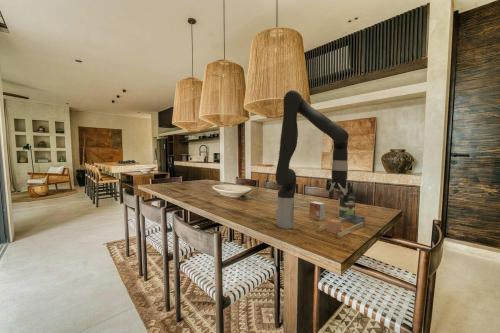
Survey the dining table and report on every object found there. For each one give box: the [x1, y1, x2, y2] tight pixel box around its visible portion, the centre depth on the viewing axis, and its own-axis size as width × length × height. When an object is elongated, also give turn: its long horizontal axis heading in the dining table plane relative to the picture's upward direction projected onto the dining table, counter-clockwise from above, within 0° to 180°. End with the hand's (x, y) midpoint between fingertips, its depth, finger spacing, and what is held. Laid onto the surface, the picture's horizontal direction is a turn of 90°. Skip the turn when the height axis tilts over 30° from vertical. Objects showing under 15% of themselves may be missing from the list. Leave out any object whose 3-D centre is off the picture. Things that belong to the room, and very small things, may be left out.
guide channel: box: [317, 213, 366, 239], centre depth 119 cm, size 12×30×5 cm, turn 129°
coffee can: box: [337, 194, 357, 219], centre depth 138 cm, size 10×10×14 cm
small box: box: [308, 200, 326, 221], centre depth 136 cm, size 8×6×10 cm
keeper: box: [326, 218, 342, 235], centre depth 113 cm, size 5×5×6 cm
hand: (338, 200), depth 109 cm, fingers open, 8 cm apart
